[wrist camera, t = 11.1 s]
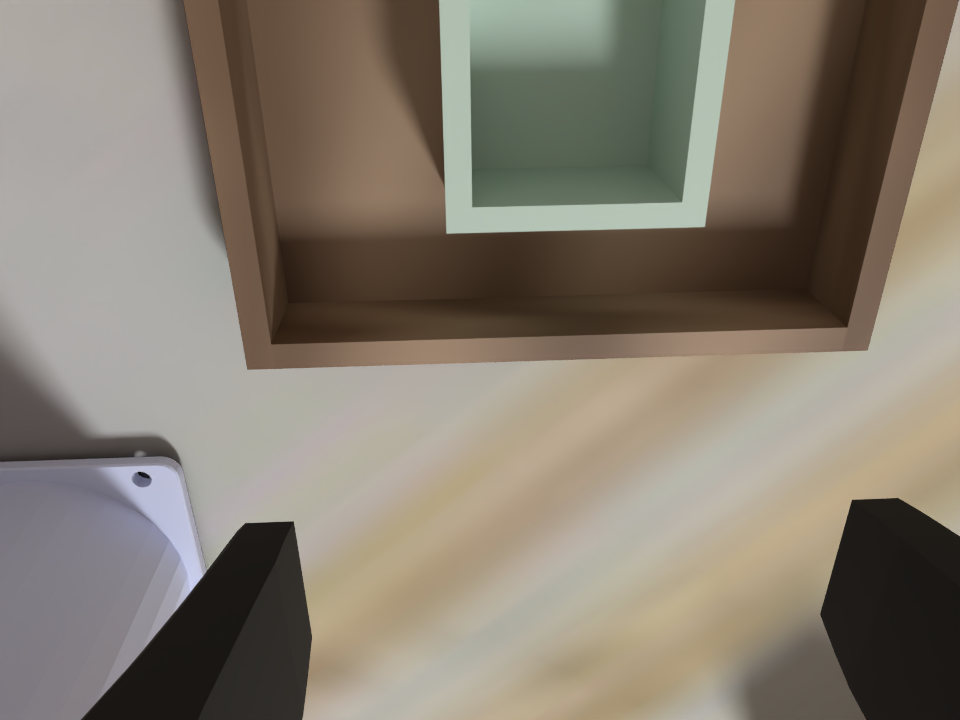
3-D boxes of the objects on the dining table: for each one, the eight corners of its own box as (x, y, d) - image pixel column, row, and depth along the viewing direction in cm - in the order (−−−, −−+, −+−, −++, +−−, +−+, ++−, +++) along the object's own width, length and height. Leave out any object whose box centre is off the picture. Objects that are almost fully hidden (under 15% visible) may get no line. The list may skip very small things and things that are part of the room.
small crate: (444, 186, 18) (446, 233, 15) (433, -187, 14) (431, -220, 11) (661, 182, 18) (704, 226, 15) (700, -189, 14) (765, -222, 12)
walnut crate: (271, 316, 19) (247, 369, 17) (156, -446, 13) (89, -539, 10) (814, 300, 20) (867, 350, 18) (974, -439, 13) (1095, -525, 11)
